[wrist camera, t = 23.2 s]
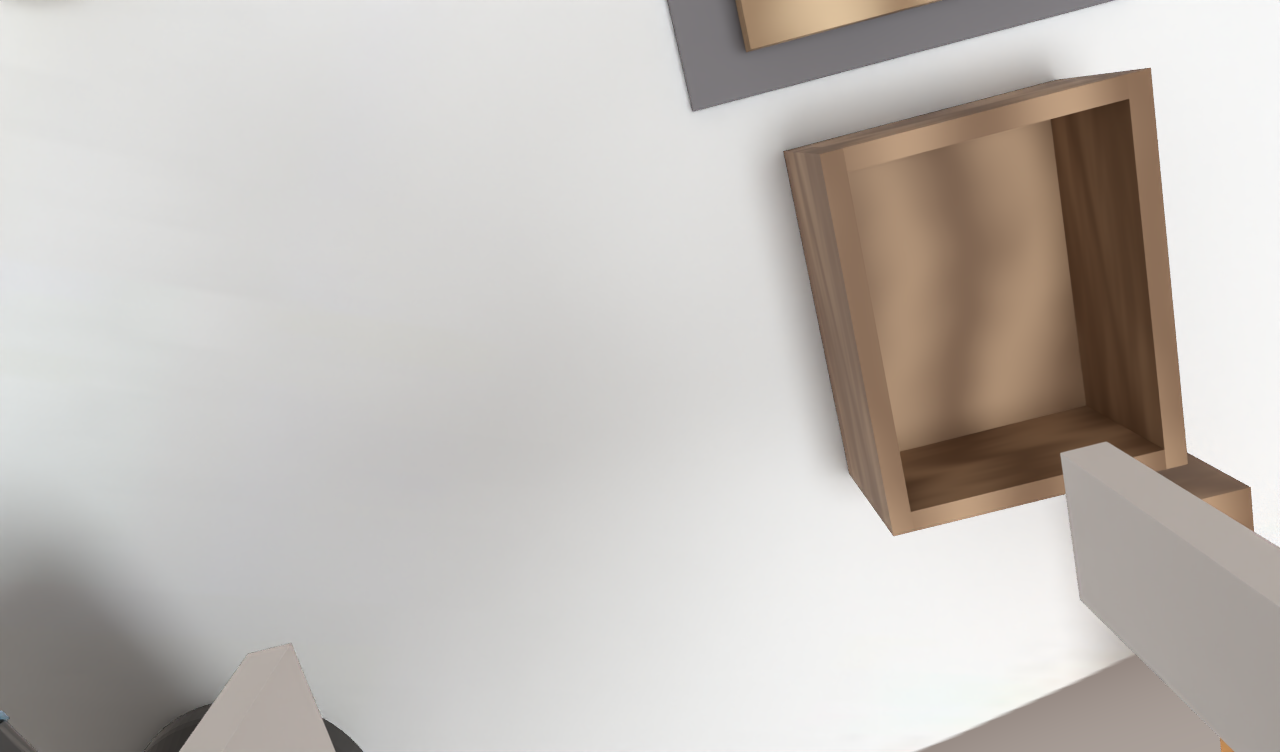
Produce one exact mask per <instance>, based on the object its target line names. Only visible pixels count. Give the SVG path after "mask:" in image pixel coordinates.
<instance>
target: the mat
mask: <svg viewBox="0 0 1280 752" xmlns="http://www.w3.org/2000/svg"><path fill="white" fill-rule="evenodd" d="M667 1H668V5H669V10H670V14H671V18H672V23H673V27H674V31H675V36H676V40H677V45H678V49H679V53H680V58H681V62H682V66H683V71H684V75H685V80H686V84H687V88H688V93H689V97H690V102H691V106H692V110H693V111H697V110H700V109H704V108H708V107H712V106H716V105H719V104H723V103H727V102H731V101H735V100H738V99H742V98H746V97H750V96H753V95H757V94H761V93H765V92H769V91H772V90H776V89H780V88H784V87H788V86H791V85H795V84H799V83H803V82H806V81H810V80H814V79H818V78H822V77H825V76H829V75H833V74H837V73H841V72H844V71H848V70H852V69H856V68H859V67H863V66H867V65H871V64H875V63H878V62H882V61H886V60H890V59H894V58H897V57H901V56H905V55H909V54H912V53H916V52H920V51H924V50H928V49H931V48H935V47H939V46H943V45H947V44H950V43H954V42H958V41H962V40H965V39H969V38H973V37H977V36H981V35H984V34H988V33H992V32H996V31H1000V30H1003V29H1007V28H1011V27H1015V26H1018V25H1022V24H1026V23H1030V22H1034V21H1037V20H1041V19H1045V18H1049V17H1053V16H1056V15H1060V14H1064V13H1068V12H1071V11H1075V10H1079V9H1083V8H1087V7H1090V6H1094V5H1098V4H1102V3H1106V2H1109V1H1113V0H942V1H938V2H934V3H930V4H926V5H923V6H919V7H915V8H911V9H908V10H904V11H900V12H896V13H893V14H889V15H885V16H881V17H878V18H874V19H870V20H866V21H863V22H859V23H855V24H851V25H848V26H844V27H840V28H836V29H832V30H829V31H825V32H821V33H817V34H814V35H810V36H806V37H802V38H799V39H795V40H791V41H787V42H784V43H780V44H776V45H772V46H769V47H765V48H761V49H757V50H753V51H750V52H746V49H745V44H744V39H743V35H742V30H741V25H740V20H739V15H738V11H737V6H736V1H735V0H667Z"/></svg>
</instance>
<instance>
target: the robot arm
mask: <svg viewBox="0 0 1280 752" xmlns="http://www.w3.org/2000/svg"><path fill="white" fill-rule="evenodd" d="M1060 455H1061V462H1062V470H1063V477H1064V484H1065V492H1066V499H1067V507H1068V514H1069V521H1070V529H1071V536H1072V544H1073V551H1074V559H1075V566H1076V573H1077V581H1078V588H1079V596H1080V600H1081V601H1082V602H1083V603H1084V604H1085V605H1086V606H1087V607H1088V608H1089V609H1090V610H1091V611H1092V612H1093V613H1094V614H1095V615H1096V616H1097V617H1098V618H1099V619H1100V620H1101V621H1102V622H1103V623H1104V624H1105V625H1106V626H1107V627H1108V628H1109V629H1110V630H1111V631H1112V632H1113V633H1114V634H1115V635H1116V636H1117V637H1118V638H1119V639H1120V640H1121V641H1123V642H1124V643H1125V644H1126V645H1127V646H1128V647H1129V648H1130V649H1131V650H1132V651H1133V652H1134V653H1135V654H1136V655H1137V656H1138V657H1139V658H1140V659H1141V660H1142V661H1143V662H1144V663H1145V664H1146V665H1147V666H1148V667H1149V668H1150V669H1151V670H1152V671H1153V672H1154V673H1155V674H1156V675H1157V676H1158V677H1159V678H1160V679H1161V680H1162V681H1163V682H1164V683H1165V684H1166V685H1167V686H1168V687H1169V688H1170V689H1171V690H1172V691H1173V692H1174V693H1175V694H1176V695H1177V696H1178V697H1179V698H1180V699H1182V701H1184V703H1186V705H1188V706H1189V707H1190V708H1191V709H1192V710H1193V711H1194V712H1195V713H1196V714H1197V715H1198V716H1199V717H1200V718H1201V719H1202V720H1203V721H1204V722H1205V723H1206V724H1207V725H1208V726H1209V727H1210V728H1211V729H1212V730H1213V731H1214V732H1215V733H1216V734H1217V735H1218V736H1219V737H1220V738H1221V739H1222V740H1223V741H1224V742H1225V743H1226V744H1227V745H1228V746H1229V747H1230V748H1231V749H1232V750H1233V751H1234V752H1280V548H1279V547H1278V546H1276V545H1275V544H1273V543H1271V542H1270V541H1268V540H1266V539H1265V538H1263V537H1261V536H1260V535H1258V534H1257V533H1255V532H1253V531H1252V530H1250V529H1248V528H1247V527H1245V526H1244V525H1242V524H1240V523H1239V522H1237V521H1235V520H1234V519H1232V518H1231V517H1229V516H1227V515H1226V514H1224V513H1222V512H1221V511H1219V510H1217V509H1216V508H1214V507H1213V506H1211V505H1209V504H1208V503H1206V502H1204V501H1203V500H1201V499H1200V498H1198V497H1196V496H1195V495H1193V494H1191V493H1190V492H1188V491H1187V490H1185V489H1183V488H1182V487H1180V486H1178V485H1177V484H1175V483H1173V482H1172V481H1170V480H1169V479H1167V478H1165V477H1164V476H1162V475H1160V474H1159V473H1157V472H1156V471H1154V470H1152V469H1151V468H1149V467H1147V466H1146V465H1144V464H1142V463H1141V462H1139V461H1138V460H1136V459H1134V458H1133V457H1131V456H1129V455H1128V454H1126V453H1125V452H1123V451H1121V450H1120V449H1118V448H1116V447H1115V446H1113V445H1112V444H1110V443H1108V442H1107V441H1106V442H1102V443H1098V444H1094V445H1090V446H1086V447H1082V448H1078V449H1074V450H1070V451H1066V452H1062V453H1060ZM8 719H9V717H8V716H7V715H6V714H5V712H3V711H1V710H0V752H38V751H37V750H36V749H34V748H33V747H32V746H31V745H30V744H29V743H28V742H27V741H26V740H25V739H24V738H23V737H22V736H21V735H20V734H19V733H18V732H17V731H16V730H15V729H14V728H13V727H12V726H11V725H10V724H9V723H8V722H7V720H8ZM144 752H363V751H362V750H361V749H360V748H359V746H358V745H357V744H356V743H355V742H354V741H353V740H352V739H351V738H350V737H349V736H347V735H346V734H345V733H344V732H343V731H341V730H340V729H339V728H337V727H336V726H335V725H333V724H332V723H330V722H328V721H327V720H325V719H323V718H322V717H321V715H320V712H319V710H318V707H317V705H316V703H315V700H314V698H313V695H312V693H311V690H310V688H309V685H308V683H307V681H306V678H305V676H304V673H303V671H302V668H301V666H300V663H299V661H298V658H297V656H296V654H295V651H294V649H293V646H292V644H291V643H289V644H285V645H281V646H277V647H273V648H269V649H265V650H261V651H257V652H253V653H249V654H247V655H246V657H245V658H244V660H243V661H242V663H241V664H240V665H239V667H238V668H237V670H236V671H235V673H234V674H233V675H232V677H231V678H230V680H229V681H228V683H227V684H226V685H225V687H224V688H223V690H222V691H221V692H220V694H219V695H218V697H217V698H216V700H215V701H214V702H213V704H210V705H206V706H203V707H200V708H197V709H195V710H193V711H190V712H188V713H186V714H184V715H183V716H181V717H179V718H177V719H176V720H174V721H173V722H171V723H170V724H169V725H167V726H166V727H165V728H164V729H163V730H162V731H160V732H159V733H158V734H157V736H156V737H155V738H154V739H153V740H152V741H151V743H150V744H149V745H148V746H147V748H146V749H145V750H144Z"/></svg>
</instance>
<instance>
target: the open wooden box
mask: <svg viewBox="0 0 1280 752" xmlns="http://www.w3.org/2000/svg"><path fill="white" fill-rule="evenodd" d="M783 152H784V157H785V162H786V167H787V171H788V176H789V181H790V186H791V191H792V196H793V201H794V206H795V211H796V215H797V220H798V225H799V230H800V235H801V240H802V245H803V250H804V255H805V260H806V264H807V269H808V274H809V279H810V284H811V289H812V294H813V299H814V304H815V308H816V313H817V318H818V323H819V328H820V333H821V338H822V343H823V348H824V353H825V357H826V362H827V367H828V372H829V377H830V382H831V387H832V392H833V397H834V401H835V406H836V411H837V416H838V421H839V426H840V431H841V436H842V441H843V446H844V450H845V455H846V460H847V465H848V470H849V474H850V476H851V477H852V478H853V480H854V481H855V483H856V484H857V485H858V487H859V488H860V490H861V491H862V492H863V494H864V495H865V497H866V498H867V499H868V501H869V502H870V504H871V505H872V507H873V508H874V509H875V511H876V512H877V514H878V515H879V516H880V518H881V519H882V521H883V522H884V523H885V525H886V526H887V528H888V529H889V530H890V532H891V533H892V535H893V536H896V535H901V534H905V533H909V532H913V531H917V530H921V529H925V528H929V527H933V526H937V525H941V524H945V523H949V522H953V521H958V520H962V519H966V518H970V517H974V516H978V515H982V514H986V513H990V512H994V511H998V510H1002V509H1006V508H1011V507H1015V506H1019V505H1023V504H1027V503H1031V502H1035V501H1039V500H1043V499H1047V498H1051V497H1055V496H1059V495H1064V494H1066V492H1065V484H1064V477H1063V470H1062V462H1061V455H1060V453H1062V452H1066V451H1070V450H1074V449H1078V448H1082V447H1086V446H1090V445H1094V444H1098V443H1102V442H1106V441H1107V442H1108V443H1110V444H1112V445H1113V446H1115V447H1116V448H1118V449H1120V450H1121V451H1123V452H1125V453H1126V454H1128V455H1129V456H1131V457H1133V458H1134V459H1136V460H1138V461H1139V462H1141V463H1142V464H1144V465H1146V466H1147V467H1149V468H1151V469H1152V470H1154V471H1156V472H1157V473H1159V474H1160V475H1162V476H1164V477H1165V478H1167V479H1169V480H1170V481H1172V482H1173V483H1175V484H1177V485H1178V486H1180V487H1182V488H1183V489H1185V490H1187V491H1188V492H1190V493H1191V494H1193V495H1195V496H1196V497H1198V498H1200V499H1201V500H1203V501H1204V502H1206V503H1208V504H1209V505H1211V506H1213V507H1214V508H1216V509H1217V510H1219V511H1221V512H1222V513H1224V514H1226V515H1227V516H1229V517H1231V518H1232V519H1234V520H1235V521H1237V522H1239V523H1240V524H1242V525H1244V526H1245V527H1247V528H1248V529H1250V530H1252V531H1253V532H1254V526H1253V513H1252V499H1251V487H1249V486H1247V485H1245V484H1244V483H1242V482H1240V481H1238V480H1236V479H1234V478H1233V477H1231V476H1229V475H1227V474H1225V473H1223V472H1222V471H1220V470H1218V469H1216V468H1214V467H1212V466H1211V465H1209V464H1207V463H1205V462H1203V461H1202V460H1200V459H1198V458H1196V457H1194V456H1192V455H1191V454H1189V453H1187V449H1186V439H1185V428H1184V417H1183V407H1182V396H1181V385H1180V375H1179V364H1178V353H1177V343H1176V332H1175V321H1174V311H1173V300H1172V289H1171V279H1170V268H1169V257H1168V247H1167V236H1166V225H1165V215H1164V204H1163V194H1162V183H1161V172H1160V162H1159V151H1158V140H1157V130H1156V119H1155V108H1154V98H1153V87H1152V76H1151V68H1145V69H1138V70H1130V71H1122V72H1114V73H1106V74H1098V75H1091V76H1083V77H1075V78H1067V79H1059V80H1054V81H1050V82H1046V83H1043V84H1039V85H1035V86H1031V87H1027V88H1023V89H1020V90H1016V91H1012V92H1008V93H1004V94H1000V95H997V96H993V97H989V98H985V99H981V100H978V101H974V102H970V103H966V104H962V105H958V106H955V107H951V108H947V109H943V110H939V111H936V112H932V113H928V114H924V115H920V116H916V117H913V118H909V119H905V120H901V121H897V122H893V123H890V124H886V125H882V126H878V127H874V128H871V129H867V130H863V131H859V132H855V133H851V134H848V135H844V136H840V137H836V138H832V139H828V140H825V141H821V142H817V143H813V144H809V145H806V146H802V147H798V148H794V149H790V150H786V151H783Z"/></svg>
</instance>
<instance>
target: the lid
mask: <svg viewBox="0 0 1280 752" xmlns="http://www.w3.org/2000/svg"><path fill="white" fill-rule="evenodd" d="M735 1H736V6H737V11H738V15H739V20H740V25H741V30H742V35H743V39H744V44H745V49H746V52H750V51H753V50H757V49H761V48H765V47H769V46H772V45H776V44H780V43H784V42H787V41H791V40H795V39H799V38H802V37H806V36H810V35H814V34H817V33H821V32H825V31H829V30H832V29H836V28H840V27H844V26H848V25H851V24H855V23H859V22H863V21H866V20H870V19H874V18H878V17H881V16H885V15H889V14H893V13H896V12H900V11H904V10H908V9H911V8H915V7H919V6H923V5H926V4H930V3H934V2H938V1H942V0H735Z"/></svg>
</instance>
